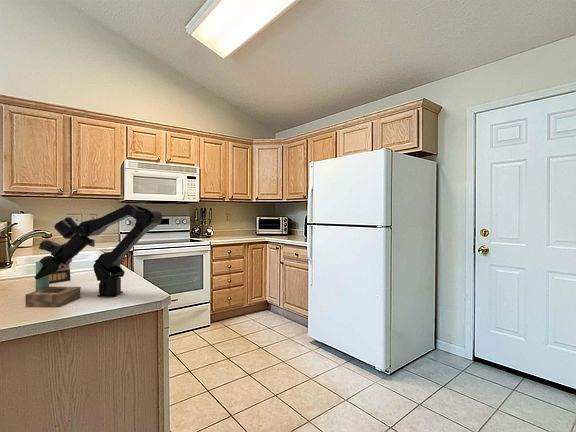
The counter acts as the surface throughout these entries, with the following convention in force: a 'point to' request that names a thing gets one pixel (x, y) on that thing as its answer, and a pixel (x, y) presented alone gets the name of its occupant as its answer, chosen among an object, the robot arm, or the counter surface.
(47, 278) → the peg
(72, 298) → the socket block
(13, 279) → the counter surface
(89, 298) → the counter surface
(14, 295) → the counter surface
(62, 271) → the ammunition clip
